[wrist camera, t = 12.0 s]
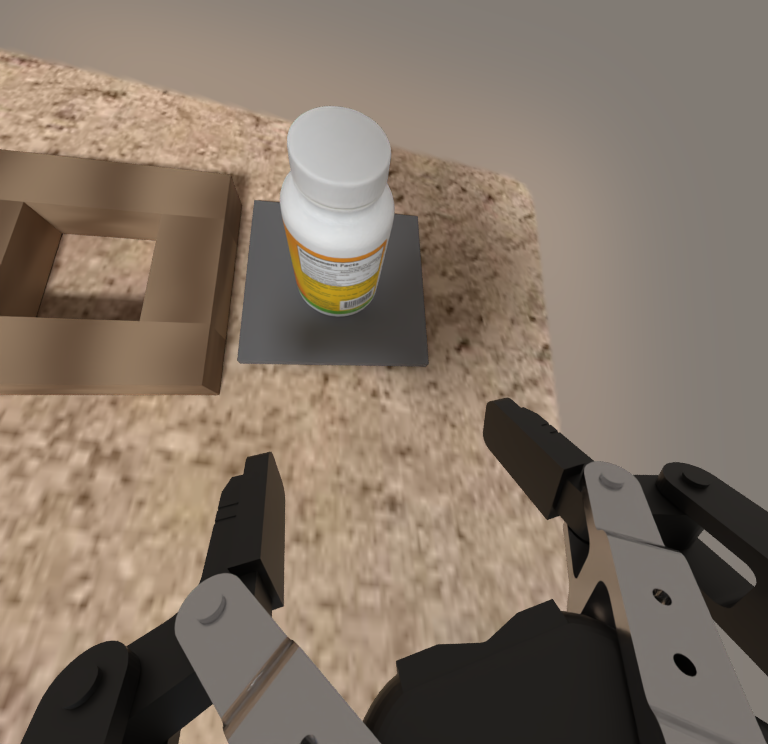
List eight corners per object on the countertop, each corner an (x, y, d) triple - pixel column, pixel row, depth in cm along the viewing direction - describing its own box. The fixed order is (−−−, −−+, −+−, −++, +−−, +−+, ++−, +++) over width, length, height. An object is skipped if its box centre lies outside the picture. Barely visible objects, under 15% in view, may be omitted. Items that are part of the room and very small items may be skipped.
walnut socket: (-68, 394, 16) (-138, 383, 13) (13, 183, 20) (-31, 146, 17) (219, 394, 18) (201, 385, 16) (241, 205, 22) (230, 174, 19)
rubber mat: (240, 363, 19) (237, 360, 18) (256, 206, 22) (254, 200, 21) (426, 366, 21) (428, 363, 20) (415, 222, 24) (417, 216, 23)
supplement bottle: (314, 239, 21) (299, 72, 12) (385, 265, 22) (424, 122, 12) (284, 302, 20) (239, 164, 10) (362, 330, 20) (385, 220, 11)
